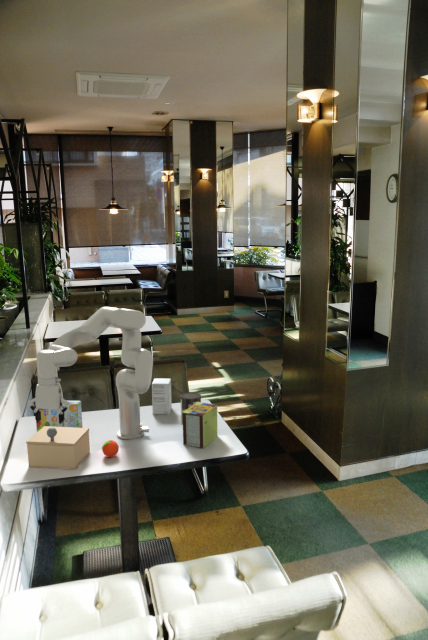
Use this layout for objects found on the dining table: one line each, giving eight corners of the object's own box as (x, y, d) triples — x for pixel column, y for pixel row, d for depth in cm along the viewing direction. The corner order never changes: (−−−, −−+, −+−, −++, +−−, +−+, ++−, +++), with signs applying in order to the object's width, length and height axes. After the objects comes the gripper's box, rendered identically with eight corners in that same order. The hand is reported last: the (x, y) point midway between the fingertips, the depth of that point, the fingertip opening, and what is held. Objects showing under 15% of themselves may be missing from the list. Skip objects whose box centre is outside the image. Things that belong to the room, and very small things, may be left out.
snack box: (83, 429, 247) (81, 400, 244) (79, 434, 241) (77, 404, 239) (41, 428, 249) (39, 399, 246) (36, 433, 244) (33, 403, 241)
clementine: (106, 462, 212) (106, 446, 211) (97, 457, 217) (96, 441, 216) (122, 455, 218) (121, 440, 217) (112, 451, 223) (112, 435, 222)
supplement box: (154, 407, 276) (154, 378, 273) (171, 407, 276) (171, 378, 273) (152, 414, 266) (151, 383, 263) (169, 414, 266) (169, 383, 263)
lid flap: (89, 430, 220) (88, 416, 219) (74, 446, 204) (73, 430, 203) (44, 428, 223) (43, 414, 221) (26, 443, 207) (25, 428, 206)
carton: (89, 452, 222) (88, 430, 220) (75, 469, 206) (74, 446, 204) (46, 450, 224) (44, 428, 223) (28, 467, 209) (27, 444, 207)
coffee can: (205, 423, 253) (204, 396, 251) (186, 427, 248) (186, 400, 246) (195, 417, 262) (194, 390, 260) (177, 421, 257) (176, 394, 254)
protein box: (217, 435, 238) (217, 404, 236) (203, 448, 225) (202, 415, 222) (197, 432, 243) (197, 401, 240) (182, 444, 229) (181, 412, 226)
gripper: (72, 379, 205) (74, 419, 208) (31, 377, 208) (34, 417, 210) (64, 384, 198) (66, 426, 201) (22, 382, 200) (25, 424, 203)
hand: (50, 421), depth 206 cm, fingers open, 9 cm apart
